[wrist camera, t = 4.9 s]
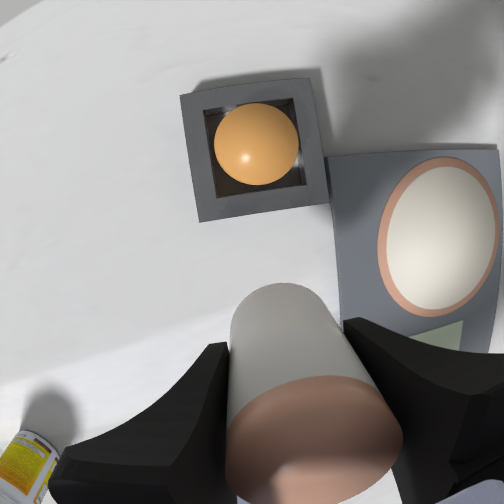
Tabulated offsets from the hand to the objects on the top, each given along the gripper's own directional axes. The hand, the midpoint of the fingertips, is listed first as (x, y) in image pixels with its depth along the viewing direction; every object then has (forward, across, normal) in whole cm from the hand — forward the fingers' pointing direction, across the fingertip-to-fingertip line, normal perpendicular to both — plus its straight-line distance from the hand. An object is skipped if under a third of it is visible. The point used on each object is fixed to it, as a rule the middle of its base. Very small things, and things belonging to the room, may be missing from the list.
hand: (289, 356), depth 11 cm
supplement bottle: (+9, +26, +15) cm, 31 cm away
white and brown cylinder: (+2, 0, 0) cm, 2 cm away
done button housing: (+9, 0, -8) cm, 12 cm away
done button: (+8, 0, -8) cm, 11 cm away
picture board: (+9, -11, +4) cm, 15 cm away
